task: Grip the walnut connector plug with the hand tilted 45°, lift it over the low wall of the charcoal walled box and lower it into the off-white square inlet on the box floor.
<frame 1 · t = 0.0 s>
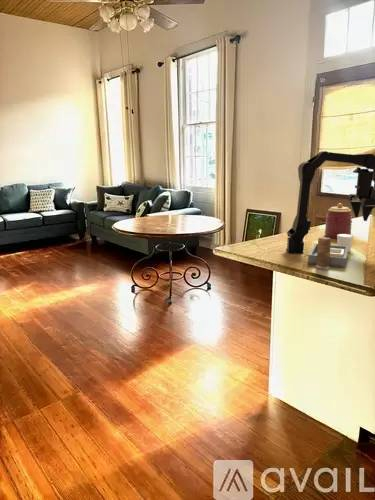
hand: (360, 219, 163), 15 cm above the countertop, tool pointing down, fingers open, 9 cm apart
canister: (337, 236, 196), on the countertop
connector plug: (322, 268, 144), on the countertop
white cube: (343, 250, 169), on the countertop
walled box: (328, 259, 155), on the countertop
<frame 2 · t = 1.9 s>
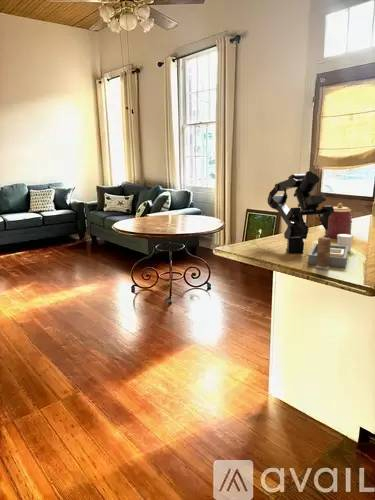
hand: (316, 230, 148), 14 cm above the countertop, tool tilted 45°, fingers open, 9 cm apart
nothing on the countertop moved.
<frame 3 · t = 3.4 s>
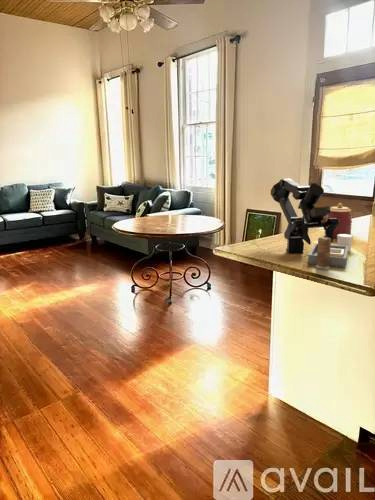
hand: (321, 243, 144), 10 cm above the countertop, tool tilted 45°, fingers open, 9 cm apart
nothing on the countertop moved.
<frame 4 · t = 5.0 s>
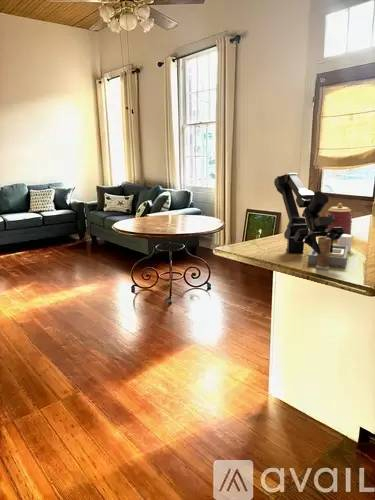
hand: (325, 253, 141), 7 cm above the countertop, tool tilted 45°, fingers closed on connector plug, 5 cm apart
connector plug: (322, 268, 144), on the countertop, touching gripper
everything else where it was.
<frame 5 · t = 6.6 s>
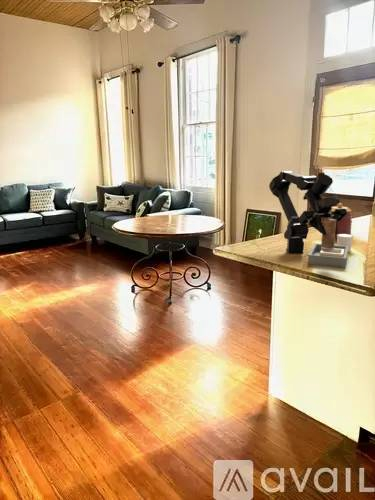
hand: (330, 234, 141), 13 cm above the countertop, tool tilted 45°, fingers closed on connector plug, 5 cm apart
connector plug: (327, 250, 144), point 7 cm above the countertop, touching gripper
everything else where it was.
when the fingers open (9 cm above the countertop, at t = 8.6 s): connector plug stays where it is, resting on walled box.
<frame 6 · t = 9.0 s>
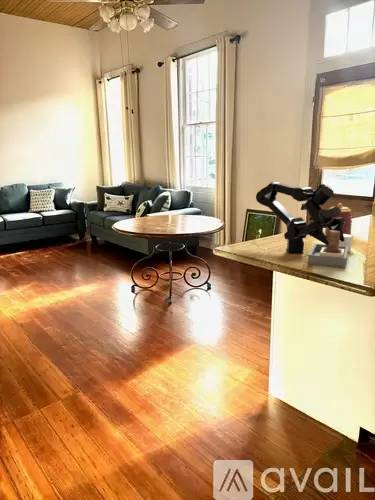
hand: (335, 242, 148), 9 cm above the countertop, tool tilted 45°, fingers open, 9 cm apart
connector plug: (331, 260, 151), point 1 cm above the countertop, touching walled box
everything else where it was.
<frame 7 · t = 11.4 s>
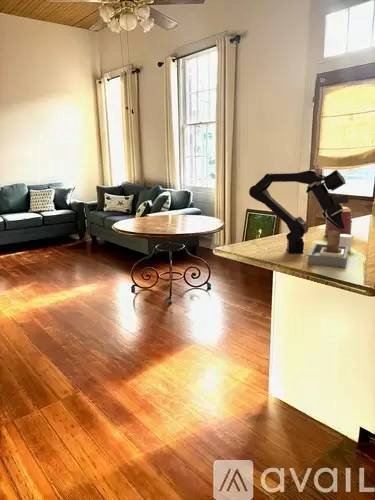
hand: (341, 228, 155), 13 cm above the countertop, tool tilted 35°, fingers open, 9 cm apart
nothing on the countertop moved.
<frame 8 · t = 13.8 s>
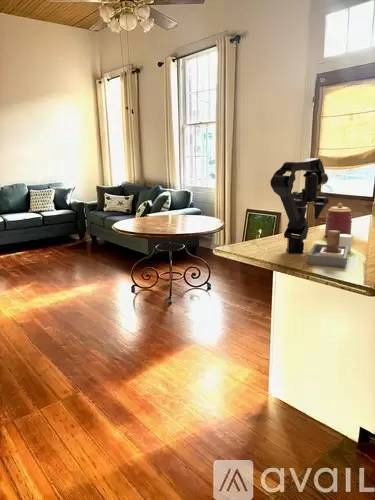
hand: (309, 220, 172), 13 cm above the countertop, tool pointing down, fingers open, 9 cm apart
nothing on the countertop moved.
at the end: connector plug 0.0 cm from the target spot on the walled box, point 1.0 cm above the walled box's base; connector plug tilted 1°; the gripper is holding nothing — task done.
